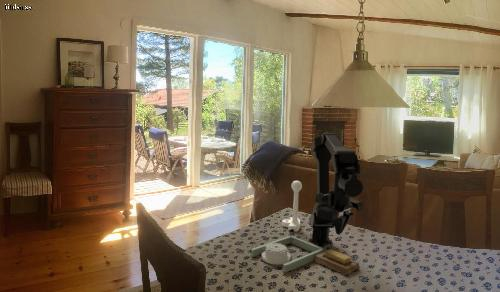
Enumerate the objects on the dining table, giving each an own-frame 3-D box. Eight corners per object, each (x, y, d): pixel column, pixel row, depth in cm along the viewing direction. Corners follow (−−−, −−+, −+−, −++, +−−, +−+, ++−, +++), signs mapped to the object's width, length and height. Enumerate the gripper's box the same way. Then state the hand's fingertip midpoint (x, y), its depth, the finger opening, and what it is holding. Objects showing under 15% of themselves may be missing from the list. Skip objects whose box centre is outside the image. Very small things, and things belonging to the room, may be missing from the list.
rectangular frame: (327, 255, 141) (328, 250, 141) (358, 268, 132) (359, 262, 132) (315, 261, 136) (315, 255, 136) (346, 274, 127) (346, 269, 127)
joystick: (299, 231, 163) (302, 184, 160) (281, 230, 164) (283, 183, 161) (300, 222, 174) (302, 178, 170) (282, 221, 175) (284, 176, 171)
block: (324, 262, 136) (325, 251, 135) (329, 260, 138) (330, 249, 137) (344, 271, 130) (345, 259, 129) (349, 268, 132) (350, 257, 131)
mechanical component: (258, 263, 134) (288, 267, 132) (259, 250, 133) (289, 254, 131) (264, 251, 143) (292, 254, 141) (264, 239, 143) (292, 243, 140)
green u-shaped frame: (290, 241, 152) (290, 235, 152) (324, 255, 141) (324, 249, 140) (251, 255, 139) (251, 249, 138) (284, 272, 127) (285, 265, 127)
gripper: (338, 179, 142) (335, 221, 144) (304, 187, 129) (301, 233, 132) (366, 186, 134) (362, 230, 136) (332, 195, 121) (329, 243, 124)
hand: (338, 233), depth 132 cm, fingers closed
